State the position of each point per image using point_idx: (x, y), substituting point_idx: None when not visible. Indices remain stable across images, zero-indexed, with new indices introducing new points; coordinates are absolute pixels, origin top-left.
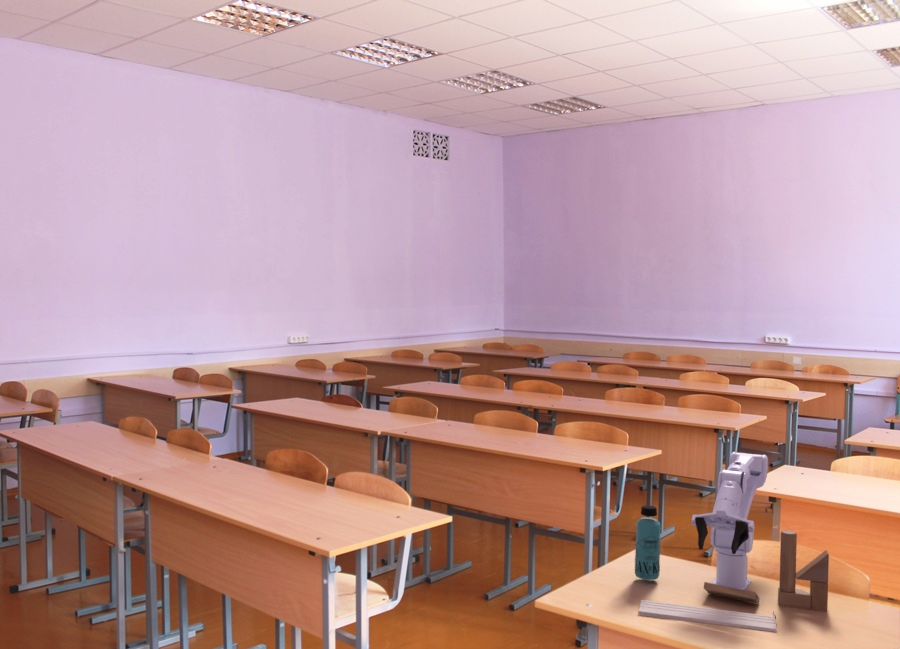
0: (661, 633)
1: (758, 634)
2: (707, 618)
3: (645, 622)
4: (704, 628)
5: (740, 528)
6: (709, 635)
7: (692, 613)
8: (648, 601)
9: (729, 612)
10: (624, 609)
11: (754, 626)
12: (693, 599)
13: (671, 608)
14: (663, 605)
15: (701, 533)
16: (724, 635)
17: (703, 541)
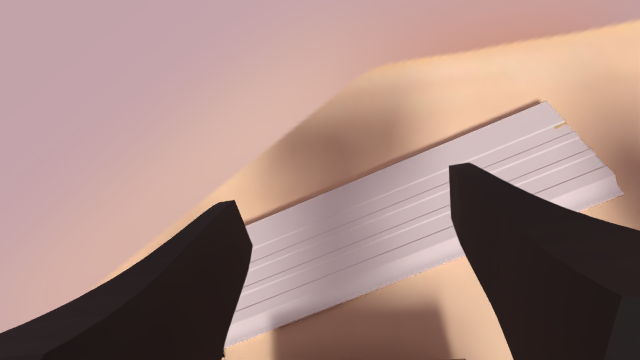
0: (426, 64)
1: (244, 206)
2: (367, 185)
3: (493, 83)
4: (360, 151)
5: (68, 312)
6: (336, 126)
7: (418, 191)
8: (583, 178)
9: (332, 273)
10: (604, 108)
11: (253, 223)
12: (497, 350)
13: None
14: (523, 186)
15: (495, 199)
16: (308, 148)
17: (481, 268)
